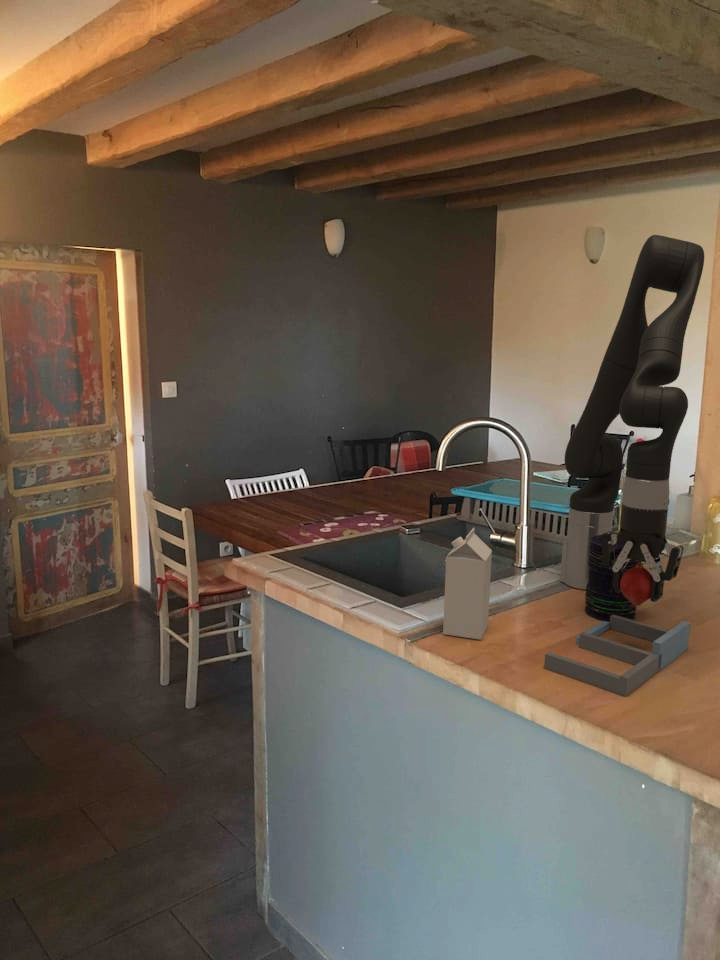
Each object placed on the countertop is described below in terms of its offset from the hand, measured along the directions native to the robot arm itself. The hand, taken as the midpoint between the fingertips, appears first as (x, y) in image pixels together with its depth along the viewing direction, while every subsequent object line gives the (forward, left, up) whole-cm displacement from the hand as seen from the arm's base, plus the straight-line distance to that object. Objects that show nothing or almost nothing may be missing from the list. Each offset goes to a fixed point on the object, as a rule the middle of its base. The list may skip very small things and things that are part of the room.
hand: (636, 595), depth 135 cm
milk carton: (-25, -15, -10) cm, 31 cm away
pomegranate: (0, 0, -2) cm, 2 cm away
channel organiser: (0, -6, -10) cm, 11 cm away
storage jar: (-10, +13, -10) cm, 19 cm away
